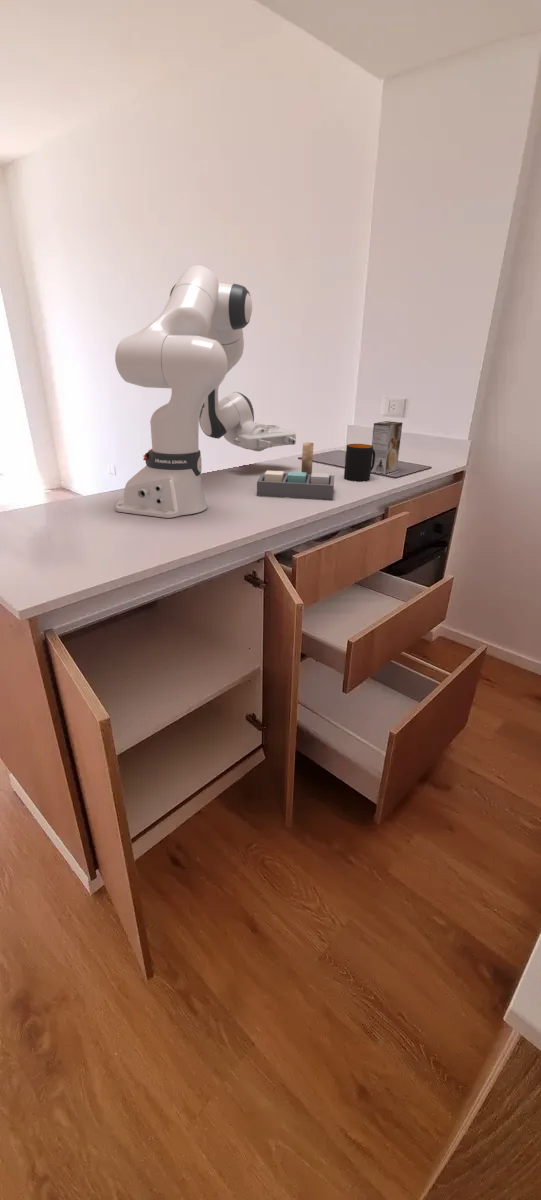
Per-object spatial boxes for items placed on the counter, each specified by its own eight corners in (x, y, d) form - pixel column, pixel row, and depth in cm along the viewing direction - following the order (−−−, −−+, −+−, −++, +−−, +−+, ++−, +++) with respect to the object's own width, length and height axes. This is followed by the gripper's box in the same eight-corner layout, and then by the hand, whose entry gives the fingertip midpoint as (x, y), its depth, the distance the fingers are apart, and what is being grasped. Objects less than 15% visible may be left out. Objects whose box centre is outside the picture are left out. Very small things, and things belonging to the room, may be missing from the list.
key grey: (310, 487, 145) (310, 476, 144) (311, 483, 150) (311, 472, 149) (328, 488, 145) (328, 477, 144) (328, 484, 149) (329, 473, 148)
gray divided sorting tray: (256, 495, 144) (257, 481, 143) (263, 485, 156) (263, 471, 154) (332, 500, 142) (333, 485, 140) (333, 489, 154) (334, 475, 152)
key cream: (264, 484, 147) (264, 474, 145) (266, 480, 151) (266, 470, 150) (281, 485, 146) (282, 474, 145) (283, 481, 151) (284, 471, 149)
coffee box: (380, 468, 185) (385, 420, 178) (397, 470, 181) (403, 422, 174) (368, 472, 178) (373, 422, 171) (385, 474, 174) (391, 424, 168)
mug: (382, 478, 169) (386, 445, 165) (357, 482, 162) (361, 448, 158) (363, 473, 175) (366, 442, 171) (338, 478, 168) (341, 445, 164)
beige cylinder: (300, 484, 158) (302, 443, 153) (301, 482, 161) (303, 442, 156) (310, 485, 158) (313, 444, 153) (311, 482, 161) (313, 442, 156)
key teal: (287, 485, 146) (287, 475, 145) (288, 482, 151) (289, 471, 149) (304, 486, 146) (305, 476, 144) (306, 483, 150) (306, 472, 149)
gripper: (230, 429, 167) (256, 435, 157) (280, 425, 178) (307, 430, 168) (230, 449, 169) (256, 457, 160) (279, 444, 181) (306, 450, 171)
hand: (282, 443), depth 164 cm, fingers open, 8 cm apart
